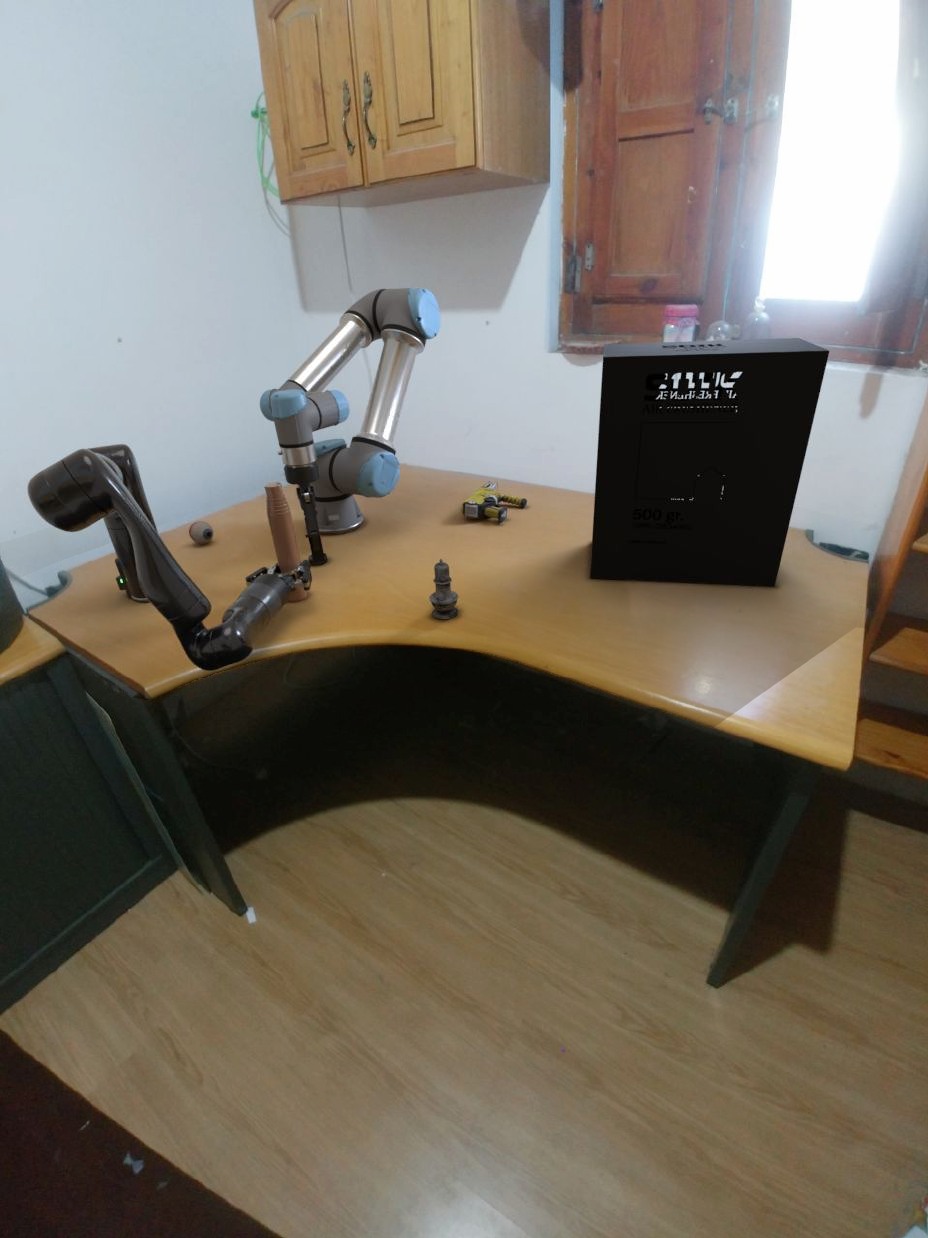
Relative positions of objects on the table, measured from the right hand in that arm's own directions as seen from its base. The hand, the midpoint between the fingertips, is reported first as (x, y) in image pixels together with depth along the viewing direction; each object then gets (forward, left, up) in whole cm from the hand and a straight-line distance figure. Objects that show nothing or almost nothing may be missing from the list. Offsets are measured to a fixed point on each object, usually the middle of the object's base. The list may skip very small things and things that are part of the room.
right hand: (316, 551), depth 147 cm
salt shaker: (+42, +9, -3) cm, 43 cm away
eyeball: (-33, -18, -3) cm, 38 cm away
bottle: (+14, -12, -3) cm, 18 cm away
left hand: (+12, -10, +4) cm, 16 cm away
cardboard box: (+58, +62, -3) cm, 85 cm away
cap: (0, 0, -2) cm, 2 cm away
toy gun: (+2, +56, -3) cm, 56 cm away
